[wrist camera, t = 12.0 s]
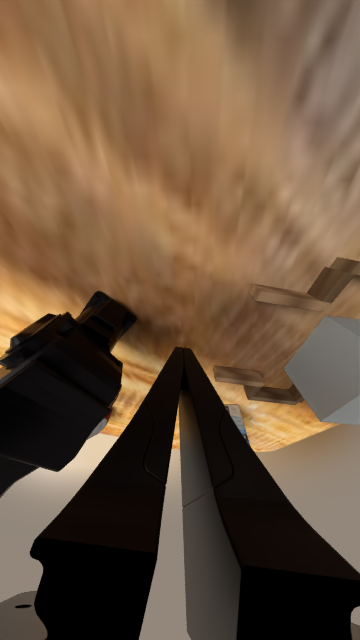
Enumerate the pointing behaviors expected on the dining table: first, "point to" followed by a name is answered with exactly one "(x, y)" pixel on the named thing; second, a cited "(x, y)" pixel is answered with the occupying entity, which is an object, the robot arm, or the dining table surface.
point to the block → (330, 370)
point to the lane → (314, 299)
